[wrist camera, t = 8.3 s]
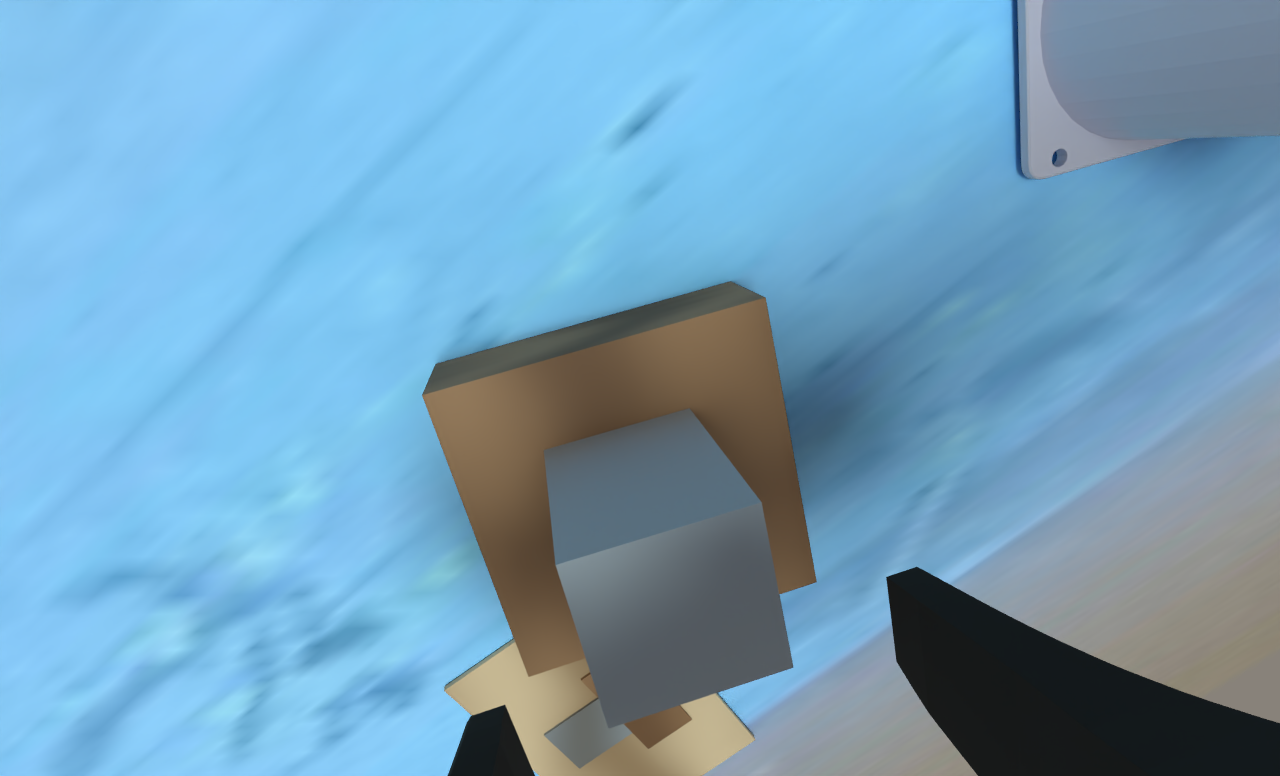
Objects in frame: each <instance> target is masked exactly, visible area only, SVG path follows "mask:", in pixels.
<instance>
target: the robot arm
mask: <svg viewBox="0 0 1280 776" xmlns="http://www.w3.org/2000/svg"><path fill="white" fill-rule="evenodd" d="M1018 44H1019V89H1020V133H1021V167H1022V172H1023V173H1024V175H1025V176H1026V177H1028V178H1030V179H1045V178H1049V177H1052V176H1056V175H1059V174H1063V173H1066V172H1070V171H1073V170H1077V169H1081V168H1084V167H1088V166H1091V165H1095V164H1098V163H1102V162H1105V161H1109V160H1113V159H1116V158H1120V157H1123V156H1127V155H1130V154H1134V153H1137V152H1141V151H1145V150H1148V149H1152V148H1155V147H1159V146H1162V145H1166V144H1169V143H1173V142H1177V141H1180V140H1184V139H1187V138H1216V137H1251V136H1280V0H1018ZM1055 151H1056V152H1057V160H1056V162H1055V163H1054V165H1053V164H1052V156H1053V154H1054V152H1055ZM886 578H887V586H888V594H889V603H890V611H891V619H892V627H893V636H894V644H895V652H896V661H897V663H898V664H899V666H900V668H901V669H902V671H903V673H904V674H905V676H906V678H907V679H908V681H909V683H910V684H911V686H912V687H913V689H914V691H915V692H916V694H917V695H918V697H919V698H920V700H921V702H922V703H923V705H924V706H925V708H926V709H927V711H928V712H929V714H930V715H931V716H932V718H933V719H934V720H935V722H936V723H937V724H938V726H939V727H940V728H941V729H942V731H943V732H944V733H945V734H946V736H947V737H948V738H949V740H950V741H951V742H952V743H953V745H954V746H955V747H956V748H957V750H958V751H959V752H960V753H961V755H962V756H963V757H964V759H965V760H966V761H967V762H968V764H969V765H970V766H971V767H972V769H973V770H974V771H975V772H976V774H977V775H978V776H1280V723H1276V722H1274V721H1270V720H1267V719H1263V718H1260V717H1257V716H1254V715H1251V714H1248V713H1245V712H1241V711H1238V710H1235V709H1232V708H1229V707H1226V706H1223V705H1220V704H1217V703H1213V702H1210V701H1207V700H1205V699H1202V698H1199V697H1196V696H1193V695H1190V694H1187V693H1184V692H1182V691H1179V690H1176V689H1174V688H1171V687H1168V686H1166V685H1163V684H1161V683H1158V682H1155V681H1153V680H1150V679H1147V678H1145V677H1142V676H1140V675H1137V674H1134V673H1132V672H1129V671H1127V670H1124V669H1122V668H1119V667H1117V666H1115V665H1112V664H1110V663H1107V662H1105V661H1103V660H1100V659H1098V658H1096V657H1094V656H1092V655H1089V654H1087V653H1085V652H1083V651H1080V650H1078V649H1076V648H1074V647H1072V646H1069V645H1067V644H1065V643H1063V642H1060V641H1058V640H1056V639H1054V638H1052V637H1050V636H1048V635H1046V634H1044V633H1042V632H1040V631H1038V630H1036V629H1034V628H1031V627H1029V626H1027V625H1025V624H1023V623H1022V622H1020V621H1018V620H1016V619H1014V618H1012V617H1010V616H1008V615H1006V614H1004V613H1002V612H1000V611H998V610H996V609H994V608H992V607H990V606H989V605H987V604H985V603H983V602H981V601H979V600H977V599H975V598H974V597H972V596H970V595H968V594H966V593H964V592H962V591H961V590H959V589H957V588H955V587H953V586H951V585H950V584H948V583H946V582H944V581H942V580H940V579H939V578H937V577H935V576H933V575H931V574H929V573H928V572H926V571H924V570H922V569H920V568H918V567H915V568H912V569H909V570H906V571H903V572H900V573H897V574H894V575H891V576H888V577H886ZM448 776H535V775H534V772H533V770H532V768H531V765H530V763H529V760H528V758H527V756H526V753H525V751H524V748H523V746H522V744H521V741H520V739H519V736H518V734H517V732H516V729H515V727H514V725H513V722H512V720H511V717H510V715H509V713H508V710H507V708H506V705H502V706H499V707H496V708H493V709H490V710H487V711H484V712H481V713H478V714H475V715H472V716H471V717H470V719H469V720H468V722H467V724H466V727H465V729H464V732H463V735H462V738H461V741H460V744H459V746H458V749H457V752H456V755H455V757H454V760H453V763H452V766H451V768H450V771H449V773H448Z"/></svg>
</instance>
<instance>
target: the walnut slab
mask: <svg viewBox="0 0 1280 776" xmlns="http://www.w3.org/2000/svg"><path fill="white" fill-rule="evenodd" d="M422 396H423V399H424V401H425V404H426V407H427V409H428V412H429V415H430V417H431V420H432V423H433V425H434V428H435V431H436V433H437V436H438V439H439V441H440V444H441V447H442V449H443V452H444V454H445V457H446V460H447V462H448V465H449V468H450V470H451V473H452V476H453V478H454V481H455V484H456V486H457V489H458V492H459V494H460V497H461V499H462V502H463V505H464V507H465V510H466V513H467V515H468V518H469V521H470V523H471V526H472V529H473V531H474V534H475V537H476V539H477V542H478V545H479V547H480V550H481V552H482V555H483V558H484V560H485V563H486V566H487V568H488V571H489V574H490V576H491V579H492V582H493V584H494V587H495V590H496V592H497V595H498V597H499V600H500V603H501V605H502V608H503V611H504V613H505V616H506V619H507V621H508V624H509V627H510V629H511V632H512V635H513V637H514V640H515V643H516V645H517V648H518V650H519V653H520V656H521V658H522V661H523V664H524V666H525V669H526V672H527V674H528V677H530V676H534V675H537V674H540V673H543V672H546V671H549V670H552V669H555V668H558V667H561V666H564V665H567V664H570V663H573V662H576V661H579V660H582V659H585V655H584V652H583V648H582V645H581V642H580V639H579V636H578V633H577V630H576V627H575V624H574V621H573V618H572V614H571V611H570V608H569V605H568V602H567V599H566V596H565V593H564V590H563V587H562V584H561V580H560V577H559V574H558V571H557V568H556V565H555V555H554V545H553V536H552V526H551V516H550V506H549V497H548V487H547V477H546V467H545V458H544V450H546V449H549V448H553V447H556V446H560V445H563V444H567V443H570V442H574V441H577V440H581V439H584V438H588V437H591V436H594V435H598V434H601V433H605V432H608V431H612V430H615V429H619V428H622V427H626V426H629V425H633V424H636V423H640V422H643V421H647V420H650V419H654V418H657V417H661V416H664V415H668V414H671V413H674V412H678V411H681V410H685V409H688V408H690V409H691V411H692V412H693V413H694V415H695V416H696V417H697V419H698V420H699V421H700V422H701V424H702V425H703V426H704V428H705V429H706V430H707V432H708V433H709V434H710V436H711V437H712V438H713V439H714V441H715V442H716V443H717V445H718V446H719V447H720V449H721V450H722V451H723V453H724V454H725V455H726V456H727V458H728V459H729V460H730V462H731V463H732V464H733V466H734V467H735V468H736V470H737V471H738V472H739V473H740V475H741V476H742V477H743V479H744V480H745V481H746V483H747V484H748V485H749V487H750V488H751V489H752V490H753V492H754V493H755V494H756V496H757V497H758V498H759V500H760V501H761V502H762V507H763V512H764V518H765V523H766V528H767V533H768V538H769V544H770V549H771V554H772V559H773V564H774V570H775V575H776V580H777V585H778V590H779V594H782V593H785V592H788V591H791V590H794V589H797V588H800V587H803V586H806V585H809V584H812V583H815V582H816V576H815V571H814V565H813V559H812V554H811V548H810V543H809V537H808V532H807V526H806V520H805V515H804V509H803V504H802V498H801V493H800V487H799V481H798V476H797V470H796V465H795V459H794V454H793V448H792V443H791V437H790V431H789V426H788V420H787V415H786V409H785V404H784V398H783V392H782V387H781V381H780V376H779V370H778V365H777V359H776V353H775V348H774V342H773V337H772V331H771V326H770V320H769V315H768V309H767V303H766V298H765V297H763V296H761V295H759V294H757V293H754V292H752V291H750V290H748V289H746V288H744V287H741V286H739V285H737V284H735V283H733V282H731V281H730V282H726V283H723V284H719V285H716V286H712V287H708V288H705V289H701V290H698V291H694V292H691V293H687V294H683V295H680V296H676V297H673V298H669V299H666V300H662V301H659V302H655V303H651V304H648V305H644V306H641V307H637V308H634V309H630V310H626V311H623V312H619V313H616V314H612V315H609V316H605V317H601V318H598V319H594V320H591V321H587V322H584V323H580V324H577V325H573V326H569V327H566V328H562V329H559V330H555V331H552V332H548V333H544V334H541V335H537V336H534V337H530V338H527V339H523V340H519V341H516V342H512V343H509V344H505V345H502V346H498V347H495V348H491V349H487V350H484V351H480V352H477V353H473V354H470V355H466V356H462V357H459V358H455V359H452V360H448V361H445V362H441V363H437V364H435V367H434V369H433V371H432V374H431V376H430V378H429V381H428V383H427V385H426V387H425V390H424V392H423V394H422Z"/></svg>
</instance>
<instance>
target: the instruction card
mask: <svg viewBox="0 0 1280 776" xmlns="http://www.w3.org/2000/svg"><path fill="white" fill-rule="evenodd" d="M444 691H445V692H446V693H447V694H448V695H450V696H451V697H452V698H453V699H454V700H455V701H456V702H457V703H459V704H460V705H461V706H462V707H463V708H464V709H465V710H466V711H467V712H469V713H470V714H471V715H475V714H478V713H481V712H484V711H487V710H490V709H493V708H496V707H499V706H502V705H506V708H507V710H508V713H509V715H510V717H511V720H512V722H513V725H514V727H515V729H516V732H517V734H518V736H519V739H520V741H521V744H522V746H523V748H524V751H525V753H526V756H527V758H528V760H529V763H530V765H531V768H532V769H533V770H534V771H535V772H536V773H537V774H538V775H539V776H702V775H704V774H705V773H707V772H708V771H710V770H711V769H713V768H714V767H716V766H717V765H719V764H720V763H722V762H723V761H725V760H726V759H728V758H729V757H731V756H732V755H734V754H735V753H736V752H738V751H739V750H741V749H742V748H744V747H745V746H747V745H748V744H750V743H751V742H753V741H754V740H755V738H754V735H753V734H752V733H751V732H750V731H749V730H748V728H747V727H746V726H745V725H744V724H743V723H742V722H741V720H740V719H739V718H738V717H737V716H736V715H735V713H734V712H733V711H732V710H731V709H730V708H729V706H728V705H727V704H726V703H725V702H724V701H723V699H722V698H721V697H720V696H719V695H718V694H717V693H715V694H712V695H709V696H706V697H703V698H700V699H697V700H694V701H691V702H688V703H685V704H682V705H679V706H676V707H673V708H670V709H667V710H664V711H661V712H658V713H655V714H652V715H648V716H645V717H642V718H639V719H636V720H633V721H630V722H627V723H624V724H621V725H618V726H615V727H612V728H609V729H608V726H607V723H606V719H605V716H604V713H603V710H602V707H601V704H600V701H599V698H598V695H597V692H596V689H595V685H594V682H593V679H592V676H591V673H590V670H589V667H588V664H587V661H586V658H585V659H582V660H579V661H576V662H573V663H570V664H567V665H564V666H561V667H558V668H555V669H552V670H549V671H546V672H543V673H540V674H537V675H534V676H530V677H528V674H527V672H526V669H525V666H524V664H523V661H522V658H521V656H520V653H519V650H518V648H517V645H516V643H515V640H514V639H513V640H511V641H510V642H508V643H507V644H505V645H504V646H502V647H501V648H500V649H498V650H497V651H495V652H494V653H492V654H491V655H489V656H488V657H487V658H485V659H484V660H482V661H481V662H479V663H478V664H476V665H475V666H473V667H472V668H471V669H469V670H468V671H466V672H465V673H463V674H462V675H460V676H459V677H458V678H456V679H455V680H453V681H452V682H450V683H449V684H447V685H446V686H445V688H444Z"/></svg>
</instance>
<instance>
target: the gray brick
mask: <svg viewBox="0 0 1280 776" xmlns="http://www.w3.org/2000/svg"><path fill="white" fill-rule="evenodd" d="M544 458H545V467H546V477H547V487H548V497H549V506H550V516H551V526H552V536H553V545H554V555H555V565H556V568H557V571H558V574H559V577H560V580H561V584H562V587H563V590H564V593H565V596H566V599H567V602H568V605H569V608H570V611H571V614H572V618H573V621H574V624H575V627H576V630H577V633H578V636H579V639H580V642H581V645H582V648H583V652H584V655H585V658H586V661H587V664H588V667H589V670H590V673H591V676H592V679H593V682H594V685H595V689H596V692H597V695H598V698H599V701H600V704H601V707H602V710H603V713H604V716H605V719H606V723H607V726H608V729H609V728H612V727H615V726H618V725H621V724H624V723H627V722H630V721H633V720H636V719H639V718H642V717H645V716H648V715H652V714H655V713H658V712H661V711H664V710H667V709H670V708H673V707H676V706H679V705H682V704H685V703H688V702H691V701H694V700H697V699H700V698H703V697H706V696H709V695H712V694H715V693H718V692H721V691H724V690H727V689H730V688H733V687H736V686H739V685H742V684H745V683H748V682H751V681H754V680H757V679H760V678H763V677H766V676H769V675H772V674H775V673H778V672H781V671H784V670H787V669H790V668H793V663H792V658H791V653H790V647H789V642H788V637H787V632H786V627H785V621H784V616H783V611H782V606H781V601H780V596H779V590H778V585H777V580H776V575H775V570H774V564H773V559H772V554H771V549H770V544H769V538H768V533H767V528H766V523H765V518H764V512H763V507H762V502H761V501H760V500H759V498H758V497H757V496H756V494H755V493H754V492H753V490H752V489H751V488H750V487H749V485H748V484H747V483H746V481H745V480H744V479H743V477H742V476H741V475H740V473H739V472H738V471H737V470H736V468H735V467H734V466H733V464H732V463H731V462H730V460H729V459H728V458H727V456H726V455H725V454H724V453H723V451H722V450H721V449H720V447H719V446H718V445H717V443H716V442H715V441H714V439H713V438H712V437H711V436H710V434H709V433H708V432H707V430H706V429H705V428H704V426H703V425H702V424H701V422H700V421H699V420H698V419H697V417H696V416H695V415H694V413H693V412H692V411H691V409H690V408H688V409H685V410H681V411H678V412H674V413H671V414H668V415H664V416H661V417H657V418H654V419H650V420H647V421H643V422H640V423H636V424H633V425H629V426H626V427H622V428H619V429H615V430H612V431H608V432H605V433H601V434H598V435H594V436H591V437H588V438H584V439H581V440H577V441H574V442H570V443H567V444H563V445H560V446H556V447H553V448H549V449H546V450H544Z"/></svg>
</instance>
